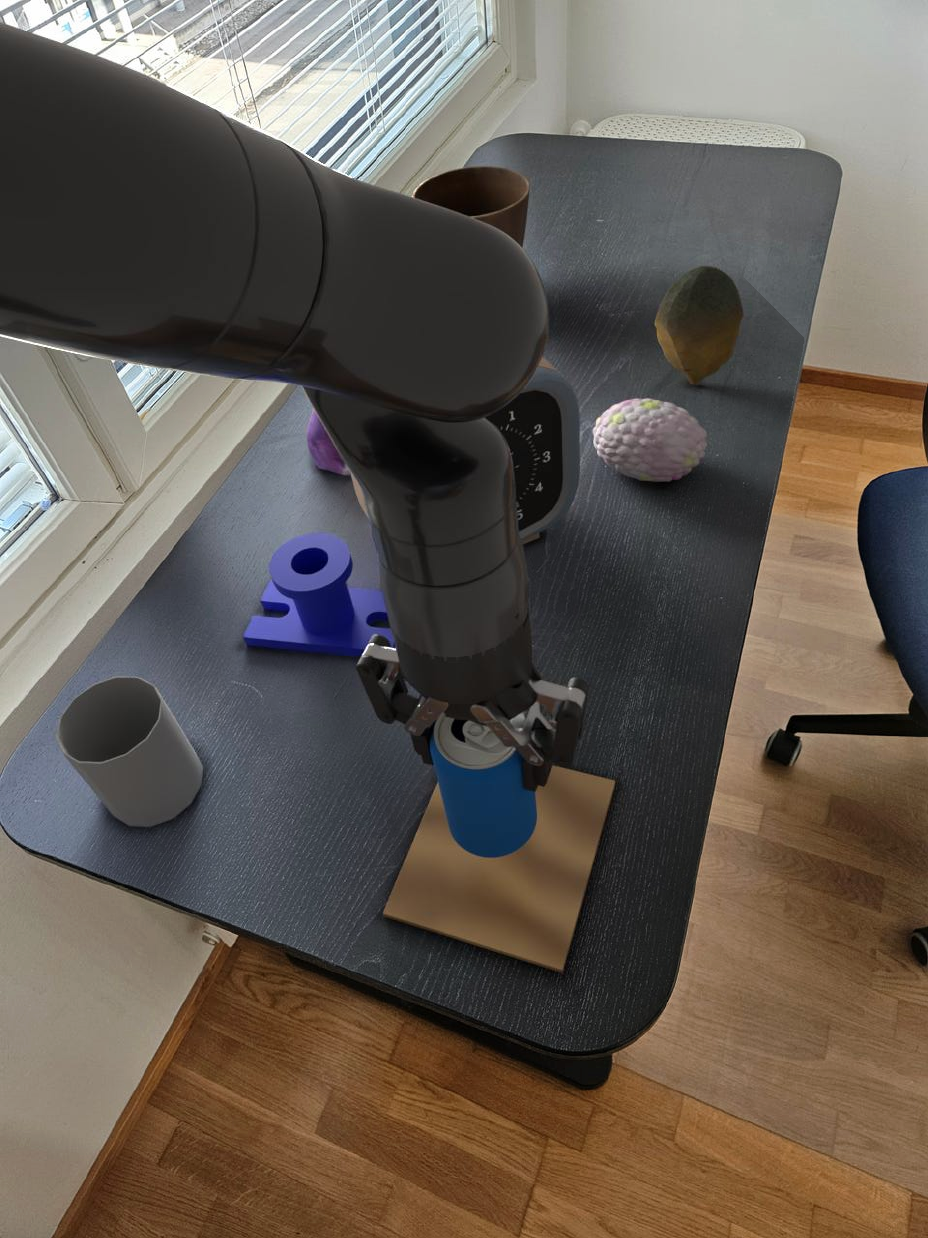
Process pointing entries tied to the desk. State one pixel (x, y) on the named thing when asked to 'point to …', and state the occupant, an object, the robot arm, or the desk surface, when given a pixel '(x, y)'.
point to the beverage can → (481, 788)
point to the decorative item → (649, 440)
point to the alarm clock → (539, 449)
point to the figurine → (324, 448)
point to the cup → (130, 750)
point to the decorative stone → (699, 322)
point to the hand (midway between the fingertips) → (484, 766)
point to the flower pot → (482, 196)
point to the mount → (317, 601)
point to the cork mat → (509, 875)
